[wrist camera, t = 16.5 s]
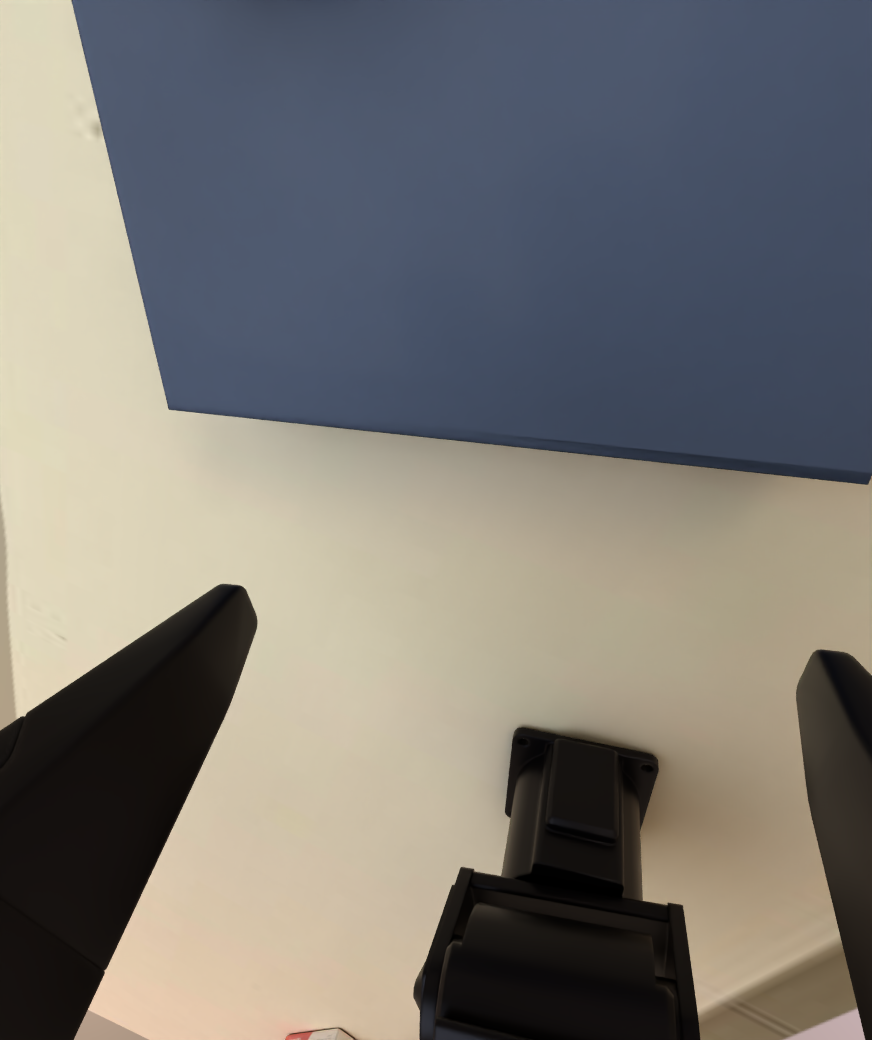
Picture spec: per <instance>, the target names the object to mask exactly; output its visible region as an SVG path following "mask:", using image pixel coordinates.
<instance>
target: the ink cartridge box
mask: <svg viewBox="0 0 872 1040" xmlns="http://www.w3.org/2000/svg"><path fill="white" fill-rule="evenodd" d="M285 1040H354V1039H353V1038H352V1037H350V1036H349V1035H347V1034H346V1033H345V1032H343V1031H342V1030H340V1029H338V1028H336V1029H329V1030H322V1031H315V1032H307V1033H300V1034H292V1035H289V1036H287V1037H286V1039H285Z"/></svg>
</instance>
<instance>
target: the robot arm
mask: <svg viewBox="0 0 872 1040" xmlns="http://www.w3.org/2000/svg"><path fill="white" fill-rule="evenodd" d="M256 629H257V616H256V613H255V611H254V608H253V606H252V603H251V601H250V598H249V596H248V594H247V591H246V589H245V588H244V587H242V586H240V585H231V584H220V585H218V586H216V587H215V588H213V589H212V590H210V591H209V592H207V593H206V594H204V595H203V596H201V597H200V598H198V599H197V600H195V601H194V602H192V603H191V604H189V605H188V606H186V607H185V608H183V609H182V610H180V611H179V612H177V613H176V614H174V615H173V616H171V617H170V618H168V619H167V620H165V621H164V622H162V623H161V624H159V625H158V626H156V627H155V628H153V629H152V630H150V631H149V632H147V633H146V634H144V635H143V636H141V637H140V638H138V639H137V640H135V641H134V642H132V643H131V644H129V645H128V646H126V647H125V648H123V649H122V650H120V651H119V652H117V653H116V654H114V655H113V656H111V657H110V658H108V659H107V660H105V661H104V662H102V663H101V664H99V665H98V666H96V667H95V668H93V669H92V670H90V671H89V672H87V673H86V674H84V675H83V676H82V677H80V678H79V679H77V680H76V681H74V682H73V683H71V684H70V685H68V686H67V687H65V688H64V689H62V690H61V691H59V692H58V693H56V694H55V695H53V696H52V697H50V698H49V699H47V700H46V701H44V702H43V703H41V704H40V705H38V706H37V707H35V708H34V709H32V710H31V711H29V712H28V713H27V714H26V716H25V717H24V716H22V717H20V718H18V719H17V720H15V721H14V722H13V723H11V724H10V725H8V726H7V727H5V728H4V729H2V730H1V731H0V1040H74V1038H75V1036H76V1033H77V1031H78V1029H79V1027H80V1025H81V1023H82V1021H83V1018H84V1016H85V1014H86V1012H87V1010H88V1008H89V1006H90V1004H91V1002H92V999H93V997H94V995H95V993H96V991H97V989H98V987H99V985H100V982H101V980H102V978H103V976H104V974H105V971H104V970H106V968H107V967H108V965H109V962H110V960H111V958H112V956H113V954H114V952H115V950H116V948H117V945H118V943H119V941H120V939H121V937H122V935H123V933H124V930H125V928H126V926H127V924H128V922H129V920H130V918H131V916H132V913H133V911H134V909H135V907H136V905H137V903H138V901H139V899H140V896H141V894H142V892H143V890H144V888H145V886H146V884H147V882H148V879H149V877H150V875H151V873H152V871H153V869H154V867H155V864H156V862H157V860H158V858H159V856H160V854H161V852H162V850H163V847H164V845H165V843H166V841H167V839H168V837H169V835H170V833H171V830H172V828H173V826H174V824H175V822H176V820H177V818H178V816H179V813H180V811H181V809H182V807H183V805H184V803H185V801H186V798H187V796H188V794H189V792H190V790H191V788H192V786H193V784H194V781H195V779H196V777H197V775H198V773H199V771H200V769H201V767H202V764H203V762H204V760H205V758H206V756H207V754H208V752H209V750H210V747H211V745H212V743H213V741H214V739H215V737H216V735H217V732H218V730H219V728H220V726H221V724H222V722H223V720H224V717H225V715H226V713H227V711H228V708H229V706H230V703H231V701H232V698H233V696H234V693H235V690H236V687H237V684H238V681H239V678H240V676H241V673H242V670H243V667H244V664H245V661H246V658H247V655H248V653H249V650H250V647H251V644H252V641H253V638H254V635H255V632H256ZM796 701H797V710H798V718H799V727H800V736H801V744H802V753H803V762H804V770H805V779H806V787H807V794H808V801H809V806H810V811H811V816H812V820H813V824H814V828H815V833H816V837H817V841H818V845H819V849H820V853H821V857H822V862H823V866H824V870H825V874H826V878H827V882H828V887H829V891H830V895H831V899H832V903H833V907H834V911H835V916H836V920H837V924H838V928H839V932H840V936H841V940H842V945H843V949H844V953H845V957H846V961H847V965H848V969H849V974H850V978H851V982H852V986H853V990H854V994H855V998H856V1003H857V1007H858V1011H859V1015H860V1019H861V1023H862V1027H863V1032H864V1036H865V1040H872V675H871V674H870V673H869V672H868V671H867V670H866V669H865V668H864V667H863V666H862V665H861V664H860V663H859V662H858V661H857V660H856V659H855V658H854V657H853V656H851V655H850V654H848V653H845V652H839V651H830V650H816V651H815V652H813V654H812V655H811V657H810V659H809V661H808V663H807V665H806V667H805V670H804V672H803V674H802V676H801V678H800V680H799V682H798V685H797V691H796ZM523 738H524V739H523ZM645 764H646V765H645ZM658 771H659V768H658V760H657V758H656V757H655V756H653V755H651V754H648V753H643V752H638V751H633V750H629V749H624V748H619V747H614V746H609V745H604V744H600V743H595V742H590V741H585V740H580V739H575V738H571V737H566V736H561V735H556V734H551V733H546V732H541V731H537V730H532V729H527V728H518V729H516V730H515V732H514V735H513V741H512V751H511V760H510V769H509V779H508V788H507V798H506V807H505V813H506V815H507V816H508V817H510V818H511V819H510V825H509V831H508V837H507V844H506V850H505V856H504V862H503V869H502V875H501V876H497V875H491V874H485V873H480V872H474V869H471V868H465V867H461V868H460V871H459V874H458V877H457V880H456V883H455V885H452V887H451V889H450V892H449V895H448V898H447V901H446V904H445V907H444V910H443V913H442V916H441V919H440V922H439V924H438V927H437V930H436V933H435V936H434V939H433V942H432V945H431V948H430V951H429V954H428V956H427V959H426V962H425V963H424V965H423V967H422V969H421V971H420V973H419V975H418V977H417V979H416V981H415V985H414V993H413V996H414V999H415V1002H416V1004H417V1006H418V1008H419V1010H420V1040H700V1032H699V1022H698V1013H697V1005H696V998H695V990H694V983H693V976H692V969H691V961H690V954H689V947H688V939H687V932H686V925H685V917H684V910H683V905H679V904H673V903H668V905H663V904H658V903H652V902H646V901H643V896H642V868H641V841H640V829H641V826H642V823H643V820H644V816H645V813H646V810H647V807H648V803H649V800H650V797H651V794H652V791H653V787H654V784H655V781H656V778H657V774H658Z"/></svg>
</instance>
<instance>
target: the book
mask: <svg viewBox="0 0 872 1040" xmlns="http://www.w3.org/2000/svg"><path fill="white" fill-rule="evenodd" d="M72 4H73V8H74V13H75V17H76V21H77V25H78V30H79V34H80V38H81V42H82V46H83V51H84V55H85V59H86V63H87V67H88V72H89V76H90V80H91V84H92V88H93V93H94V97H95V101H96V105H97V109H98V114H99V118H100V122H101V126H102V130H103V135H104V139H105V143H106V147H107V152H108V156H109V160H110V164H111V168H112V173H113V177H114V181H115V185H116V189H117V194H118V198H119V202H120V206H121V210H122V215H123V219H124V223H125V227H126V231H127V236H128V240H129V244H130V248H131V252H132V257H133V261H134V265H135V269H136V274H137V278H138V282H139V286H140V290H141V295H142V299H143V303H144V307H145V311H146V316H147V320H148V324H149V328H150V332H151V337H152V341H153V345H154V349H155V353H156V358H157V362H158V366H159V370H160V374H161V379H162V383H163V387H164V391H165V396H166V400H167V404H168V408H169V410H177V411H186V412H196V413H205V414H214V415H224V416H233V417H242V418H252V419H261V420H270V421H280V422H289V423H298V424H307V425H317V426H326V427H335V428H345V429H354V430H363V431H373V432H382V433H391V434H400V435H410V436H419V437H428V438H438V439H447V440H456V441H466V442H475V443H484V444H493V445H503V446H512V447H521V448H531V449H540V450H549V451H559V452H568V453H577V454H587V455H596V456H605V457H614V458H624V459H633V460H642V461H652V462H661V463H670V464H680V465H689V466H698V467H707V468H717V469H726V470H735V471H745V472H754V473H763V474H773V475H782V476H791V477H800V478H810V479H819V480H828V481H838V482H847V483H856V484H866V485H867V484H869V481H870V479H871V476H872V0H72Z"/></svg>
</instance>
